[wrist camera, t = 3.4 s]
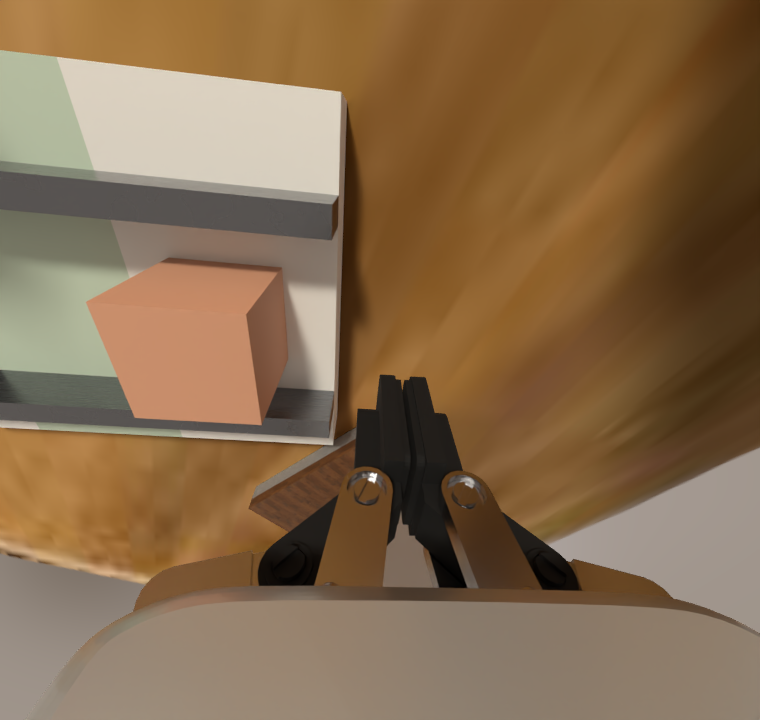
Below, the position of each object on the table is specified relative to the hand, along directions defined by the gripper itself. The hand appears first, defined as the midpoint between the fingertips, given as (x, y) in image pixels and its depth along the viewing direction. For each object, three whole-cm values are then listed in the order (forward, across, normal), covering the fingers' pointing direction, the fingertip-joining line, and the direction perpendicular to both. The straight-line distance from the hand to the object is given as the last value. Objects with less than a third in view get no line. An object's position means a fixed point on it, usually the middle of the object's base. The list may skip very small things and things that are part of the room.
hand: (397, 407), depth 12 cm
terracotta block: (+6, +8, -1) cm, 10 cm away
